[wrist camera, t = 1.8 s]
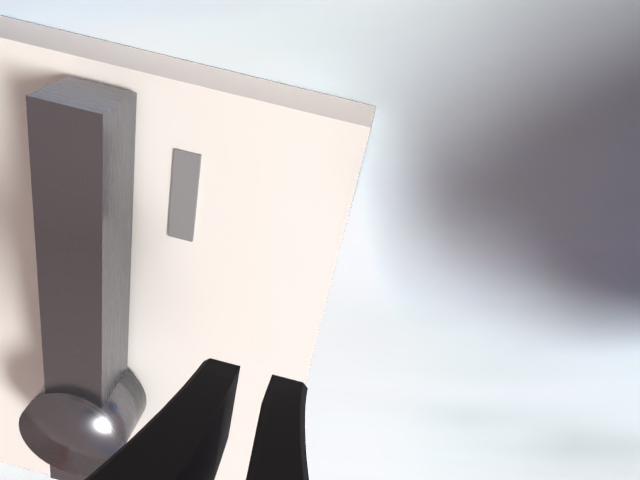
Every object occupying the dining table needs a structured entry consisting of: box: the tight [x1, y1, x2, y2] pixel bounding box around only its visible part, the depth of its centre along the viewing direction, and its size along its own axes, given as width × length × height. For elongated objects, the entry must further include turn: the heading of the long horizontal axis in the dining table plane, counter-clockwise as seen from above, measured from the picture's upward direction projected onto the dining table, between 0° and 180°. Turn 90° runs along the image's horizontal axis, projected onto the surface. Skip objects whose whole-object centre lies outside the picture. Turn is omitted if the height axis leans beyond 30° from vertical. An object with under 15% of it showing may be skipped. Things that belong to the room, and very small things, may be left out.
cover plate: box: [0, 15, 376, 480], centre depth 22 cm, size 19×19×2 cm
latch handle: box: [19, 76, 146, 480], centre depth 19 cm, size 15×4×2 cm, turn 169°
